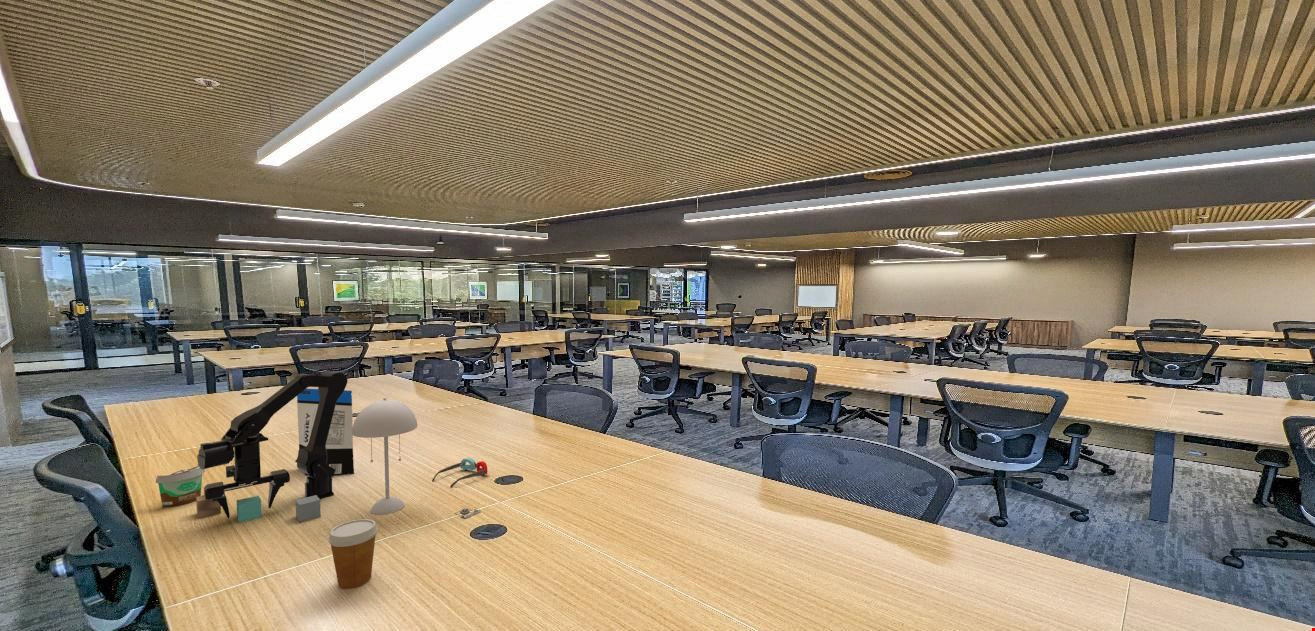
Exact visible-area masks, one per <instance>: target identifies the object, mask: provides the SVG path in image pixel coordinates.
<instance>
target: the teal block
mask: <svg viewBox="0 0 1315 631" xmlns="http://www.w3.org/2000/svg"><path fill="white" fill-rule="evenodd" d="M262 516H263V515H262V500H261V497H260V496H259V495H255V496H251V497H245V498H242V499H241V498H240V499H237V500H236V518H237V522H239V523H243V522H247V521H251V520H252V521H253V520H255V519H260V518H262Z"/></svg>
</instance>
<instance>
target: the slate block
mask: <svg viewBox="0 0 1315 631" xmlns="http://www.w3.org/2000/svg"><path fill="white" fill-rule="evenodd" d="M321 513H322V512H321V498H318V497H317V495H314V496H310V497H306V496H305V497H303V498H299V499H295V517H296V519H297V520H298V522H299V523H301V522H306V521H308V520H309V521H310V520H314V519H317V518H321V517H322V514H321Z"/></svg>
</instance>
